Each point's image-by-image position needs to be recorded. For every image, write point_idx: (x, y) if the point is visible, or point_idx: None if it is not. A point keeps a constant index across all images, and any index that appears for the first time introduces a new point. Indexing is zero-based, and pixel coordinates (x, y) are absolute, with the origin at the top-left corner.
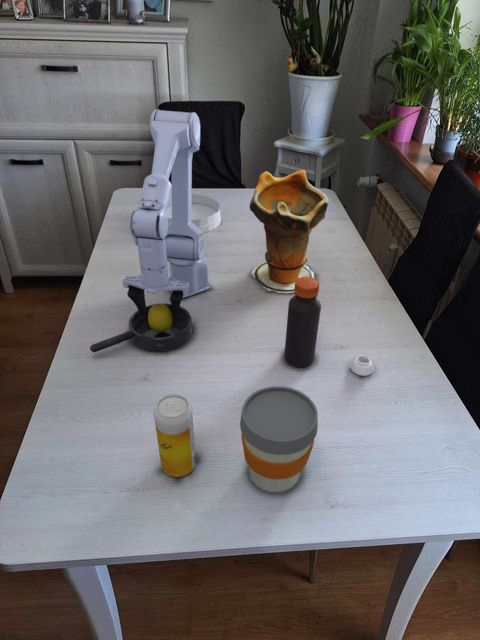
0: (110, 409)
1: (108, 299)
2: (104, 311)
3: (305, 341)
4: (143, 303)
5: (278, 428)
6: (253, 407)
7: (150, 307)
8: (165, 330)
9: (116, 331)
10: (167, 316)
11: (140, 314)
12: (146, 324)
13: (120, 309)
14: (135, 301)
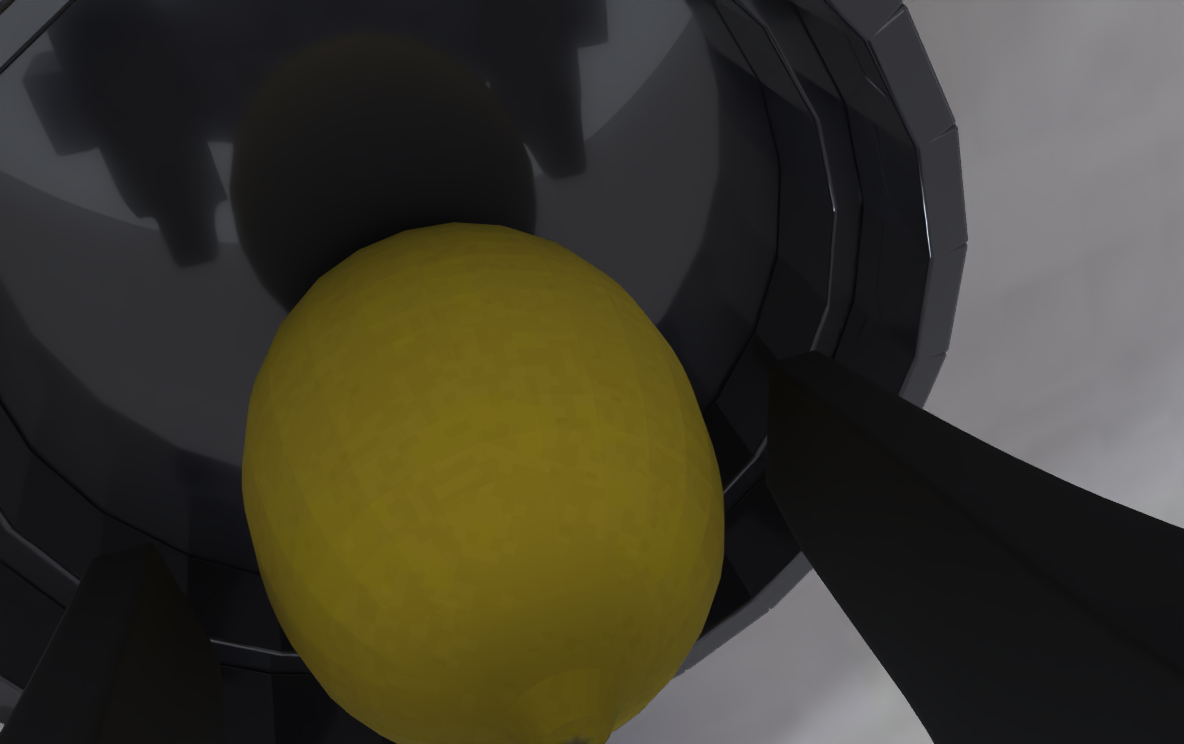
0: None
1: (1139, 485)
2: (1165, 338)
3: None
4: (902, 607)
5: None
6: None
7: (743, 582)
8: (299, 301)
9: (1010, 83)
10: (279, 557)
11: (847, 367)
12: (692, 348)
13: (1022, 429)
14: (1180, 575)
